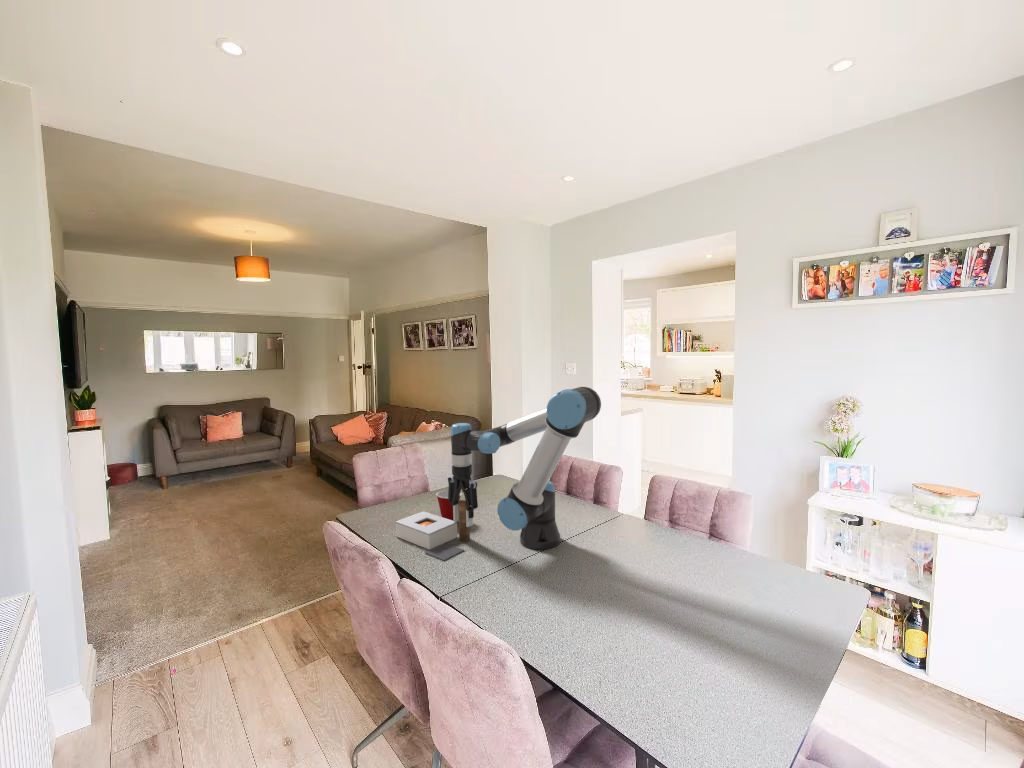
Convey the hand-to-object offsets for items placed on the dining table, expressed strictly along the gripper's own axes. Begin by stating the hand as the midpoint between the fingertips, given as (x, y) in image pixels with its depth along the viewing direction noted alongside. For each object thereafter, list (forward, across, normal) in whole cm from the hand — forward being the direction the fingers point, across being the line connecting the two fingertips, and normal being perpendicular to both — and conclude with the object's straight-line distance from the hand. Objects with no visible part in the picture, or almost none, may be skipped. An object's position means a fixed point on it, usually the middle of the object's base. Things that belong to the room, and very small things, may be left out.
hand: (463, 523), depth 179 cm
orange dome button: (+4, +13, +7) cm, 16 cm away
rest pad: (+6, -3, +12) cm, 14 cm away
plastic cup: (+7, +18, -10) cm, 22 cm away
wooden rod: (+6, -1, 0) cm, 6 cm away
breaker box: (+6, +13, +7) cm, 16 cm away
